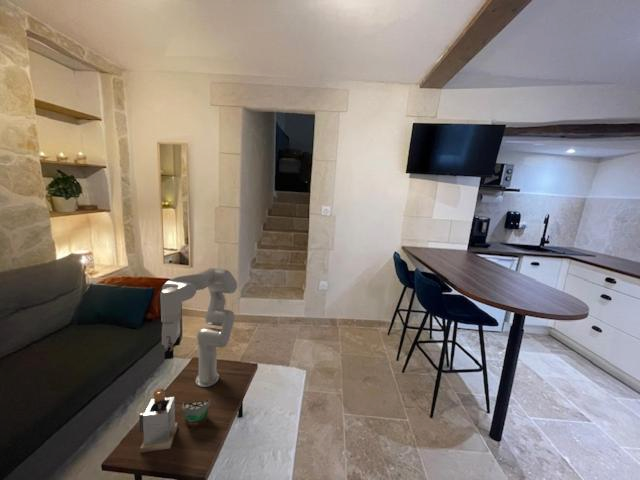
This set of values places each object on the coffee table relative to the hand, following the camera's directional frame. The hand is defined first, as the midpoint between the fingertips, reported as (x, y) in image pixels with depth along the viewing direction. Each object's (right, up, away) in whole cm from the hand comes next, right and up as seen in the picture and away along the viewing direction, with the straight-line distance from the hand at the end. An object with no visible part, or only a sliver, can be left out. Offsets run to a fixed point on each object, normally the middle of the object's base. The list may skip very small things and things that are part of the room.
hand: (172, 351), depth 116 cm
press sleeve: (-5, -34, -4) cm, 35 cm away
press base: (-4, -36, -3) cm, 37 cm away
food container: (+8, -36, +5) cm, 37 cm away
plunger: (-3, -34, -4) cm, 34 cm away
